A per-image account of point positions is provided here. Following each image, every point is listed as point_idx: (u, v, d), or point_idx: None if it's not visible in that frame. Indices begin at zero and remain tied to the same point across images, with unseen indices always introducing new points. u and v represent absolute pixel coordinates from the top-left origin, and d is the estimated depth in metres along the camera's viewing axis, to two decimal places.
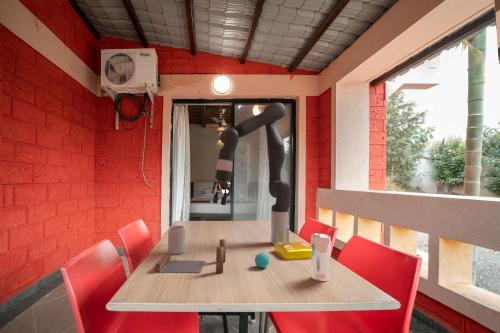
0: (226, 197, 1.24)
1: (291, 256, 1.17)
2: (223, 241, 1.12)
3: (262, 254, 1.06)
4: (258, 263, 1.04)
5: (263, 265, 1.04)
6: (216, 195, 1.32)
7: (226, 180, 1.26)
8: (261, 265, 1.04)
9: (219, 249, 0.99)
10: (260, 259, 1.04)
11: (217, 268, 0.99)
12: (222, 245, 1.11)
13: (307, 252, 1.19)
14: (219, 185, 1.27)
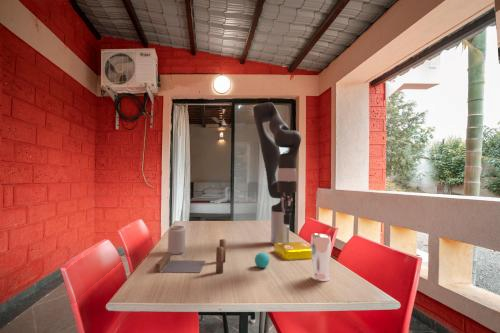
0: None
1: (291, 256, 1.17)
2: (223, 241, 1.12)
3: (262, 254, 1.06)
4: (258, 263, 1.04)
5: (263, 265, 1.04)
6: None
7: None
8: (261, 265, 1.04)
9: (219, 249, 0.99)
10: (260, 259, 1.04)
11: (217, 268, 0.99)
12: (222, 245, 1.11)
13: (307, 252, 1.19)
14: None
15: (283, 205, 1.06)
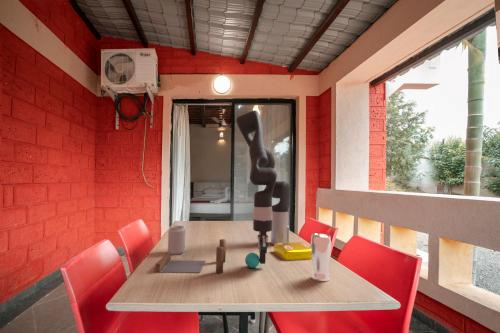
0: None
1: (291, 256, 1.17)
2: (223, 241, 1.12)
3: (247, 257, 1.05)
4: (251, 266, 1.04)
5: (256, 263, 1.04)
6: None
7: None
8: (255, 265, 1.04)
9: (219, 249, 0.99)
10: (249, 262, 1.04)
11: (217, 268, 0.99)
12: (222, 245, 1.11)
13: (307, 252, 1.19)
14: None
15: (258, 244, 1.04)
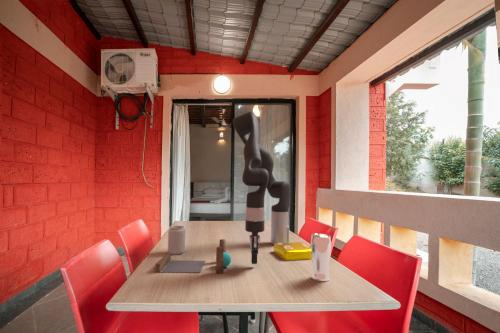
0: None
1: (292, 256, 1.17)
2: (223, 241, 1.12)
3: (229, 260, 1.05)
4: None
5: None
6: None
7: None
8: None
9: (219, 249, 0.99)
10: (224, 259, 1.04)
11: (217, 268, 0.99)
12: (222, 245, 1.11)
13: (307, 252, 1.19)
14: (259, 237, 1.08)
15: (250, 245, 1.05)
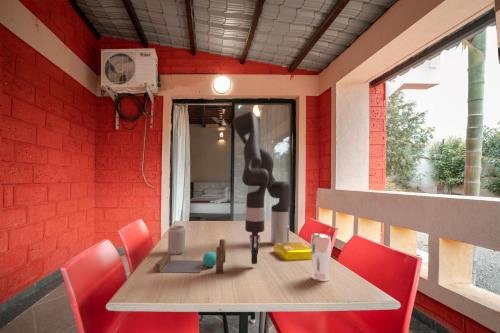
0: None
1: (292, 256, 1.16)
2: (223, 241, 1.12)
3: (207, 254, 1.05)
4: (206, 264, 1.04)
5: (211, 264, 1.04)
6: None
7: None
8: (210, 265, 1.04)
9: (219, 249, 0.99)
10: (206, 260, 1.04)
11: (217, 268, 0.99)
12: (222, 245, 1.11)
13: (307, 252, 1.18)
14: (259, 237, 1.08)
15: (250, 245, 1.05)
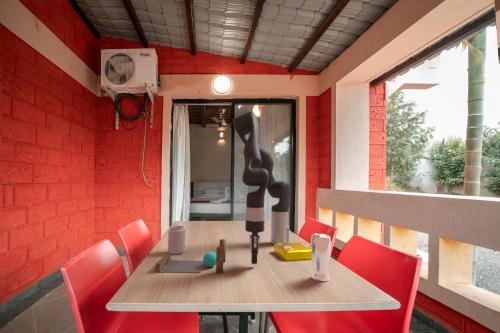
0: None
1: (292, 256, 1.16)
2: (223, 241, 1.12)
3: (207, 254, 1.05)
4: (206, 264, 1.04)
5: (211, 264, 1.04)
6: None
7: None
8: (210, 265, 1.04)
9: (219, 249, 0.99)
10: (206, 260, 1.04)
11: (217, 268, 0.99)
12: (222, 245, 1.11)
13: (307, 252, 1.18)
14: (259, 237, 1.08)
15: (250, 245, 1.05)
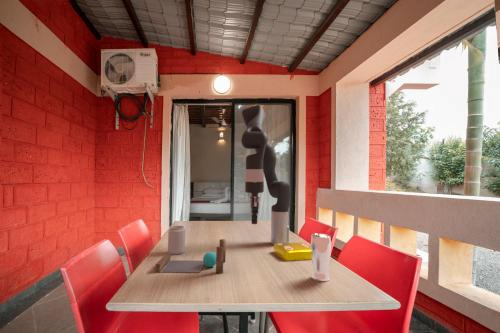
0: None
1: (292, 257, 1.16)
2: (223, 241, 1.12)
3: (207, 254, 1.05)
4: (206, 264, 1.04)
5: (211, 264, 1.04)
6: None
7: None
8: (210, 265, 1.04)
9: (219, 249, 0.99)
10: (206, 260, 1.04)
11: (217, 268, 0.99)
12: (222, 245, 1.11)
13: (307, 252, 1.18)
14: None
15: (250, 205, 1.08)
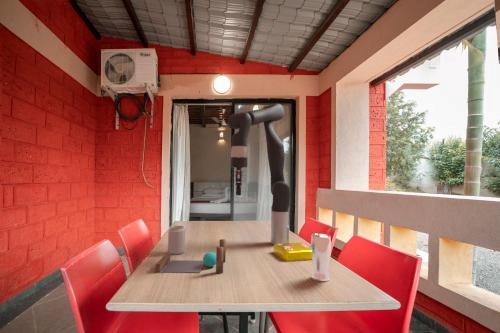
0: None
1: (292, 257, 1.16)
2: (223, 241, 1.12)
3: (207, 254, 1.05)
4: (206, 264, 1.04)
5: (211, 264, 1.04)
6: None
7: None
8: (210, 265, 1.04)
9: (219, 249, 0.99)
10: (206, 260, 1.04)
11: (217, 268, 0.99)
12: (222, 245, 1.11)
13: (307, 253, 1.18)
14: None
15: (235, 178, 1.21)
